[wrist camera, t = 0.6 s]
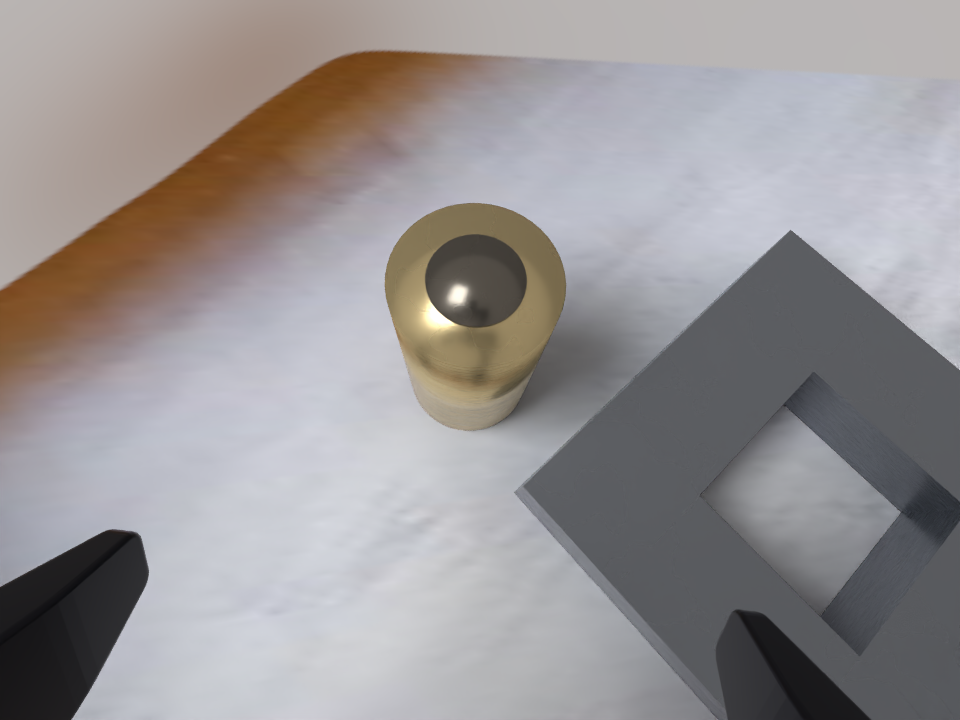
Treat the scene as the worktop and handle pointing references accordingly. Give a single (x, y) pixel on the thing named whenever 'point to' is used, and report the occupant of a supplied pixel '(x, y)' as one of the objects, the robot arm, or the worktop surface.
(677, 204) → the worktop surface
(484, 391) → the brass bushing
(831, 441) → the plate
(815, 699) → the robot arm
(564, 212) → the worktop surface
